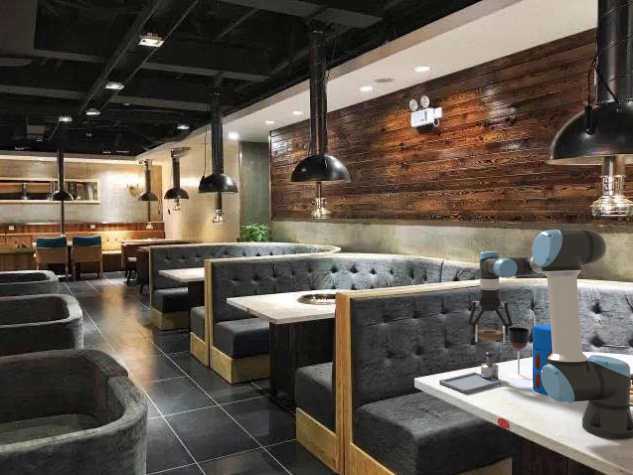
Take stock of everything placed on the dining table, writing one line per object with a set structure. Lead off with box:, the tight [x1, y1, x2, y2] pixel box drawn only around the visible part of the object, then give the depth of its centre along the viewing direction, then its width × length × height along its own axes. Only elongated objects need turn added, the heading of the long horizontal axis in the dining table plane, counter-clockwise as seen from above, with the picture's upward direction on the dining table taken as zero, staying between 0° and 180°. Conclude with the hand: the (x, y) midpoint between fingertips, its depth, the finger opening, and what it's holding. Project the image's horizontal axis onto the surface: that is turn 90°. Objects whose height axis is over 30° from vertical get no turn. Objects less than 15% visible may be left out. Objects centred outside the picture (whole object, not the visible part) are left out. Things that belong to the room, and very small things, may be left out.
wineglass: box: [508, 326, 530, 380], centre depth 221 cm, size 8×9×20 cm
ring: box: [477, 328, 503, 342], centre depth 217 cm, size 10×10×2 cm
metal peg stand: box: [480, 351, 500, 381], centre depth 218 cm, size 7×7×11 cm
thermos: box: [532, 323, 553, 396], centre depth 203 cm, size 11×11×25 cm
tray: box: [438, 371, 502, 395], centre depth 213 cm, size 14×20×2 cm
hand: (490, 342), depth 217 cm, fingers closed on ring, 10 cm apart
